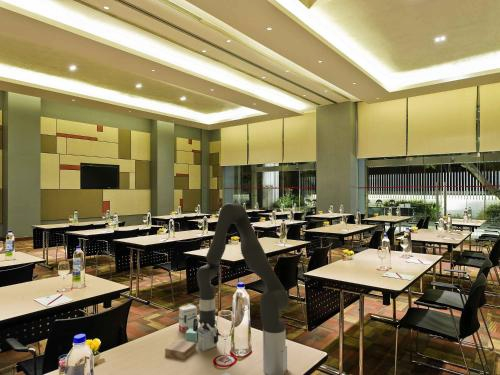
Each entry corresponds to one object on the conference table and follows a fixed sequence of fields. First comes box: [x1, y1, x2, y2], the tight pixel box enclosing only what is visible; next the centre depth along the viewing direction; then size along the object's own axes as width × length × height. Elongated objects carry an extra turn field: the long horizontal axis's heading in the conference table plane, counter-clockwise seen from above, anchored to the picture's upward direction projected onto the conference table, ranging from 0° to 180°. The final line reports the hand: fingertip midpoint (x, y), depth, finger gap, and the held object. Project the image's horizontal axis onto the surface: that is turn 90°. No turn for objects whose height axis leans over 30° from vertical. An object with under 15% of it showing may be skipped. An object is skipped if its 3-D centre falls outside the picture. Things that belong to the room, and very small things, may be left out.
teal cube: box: [184, 328, 198, 344], centre depth 177 cm, size 5×5×5 cm
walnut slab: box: [164, 339, 197, 360], centre depth 165 cm, size 10×10×4 cm
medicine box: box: [197, 329, 218, 352], centre depth 170 cm, size 8×4×9 cm, turn 134°
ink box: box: [178, 304, 198, 333], centre depth 191 cm, size 8×5×12 cm, turn 123°
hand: (207, 341), depth 170 cm, fingers open, 8 cm apart
